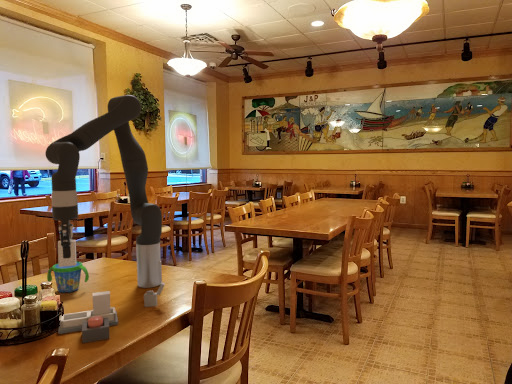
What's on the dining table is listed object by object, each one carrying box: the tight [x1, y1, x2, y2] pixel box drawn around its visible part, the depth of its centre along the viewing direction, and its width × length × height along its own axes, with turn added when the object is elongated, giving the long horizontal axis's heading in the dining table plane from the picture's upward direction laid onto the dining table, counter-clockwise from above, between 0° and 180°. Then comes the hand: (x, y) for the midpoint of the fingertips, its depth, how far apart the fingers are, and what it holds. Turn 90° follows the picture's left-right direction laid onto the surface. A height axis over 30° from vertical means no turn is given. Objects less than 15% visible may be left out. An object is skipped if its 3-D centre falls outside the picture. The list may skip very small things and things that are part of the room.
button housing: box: [81, 318, 110, 344], centre depth 111 cm, size 7×7×4 cm
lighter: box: [143, 281, 166, 308], centre depth 133 cm, size 7×2×8 cm, turn 97°
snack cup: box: [46, 261, 90, 293], centre depth 150 cm, size 16×10×10 cm
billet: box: [57, 239, 77, 267], centre depth 126 cm, size 5×3×8 cm, turn 112°
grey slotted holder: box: [57, 290, 119, 335], centre depth 119 cm, size 16×9×9 cm, turn 112°
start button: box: [88, 316, 103, 328], centre depth 111 cm, size 4×4×2 cm
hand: (67, 256), depth 126 cm, fingers closed on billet, 2 cm apart
